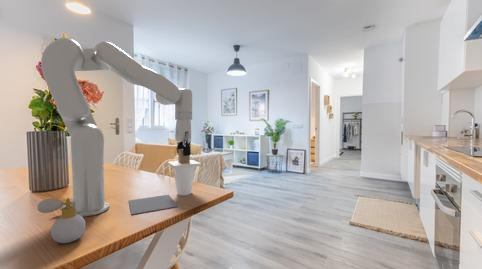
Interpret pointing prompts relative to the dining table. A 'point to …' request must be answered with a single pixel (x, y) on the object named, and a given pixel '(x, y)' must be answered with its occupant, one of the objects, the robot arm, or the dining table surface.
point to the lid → (183, 161)
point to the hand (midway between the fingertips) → (183, 154)
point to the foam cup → (184, 180)
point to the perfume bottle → (64, 220)
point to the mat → (151, 204)
